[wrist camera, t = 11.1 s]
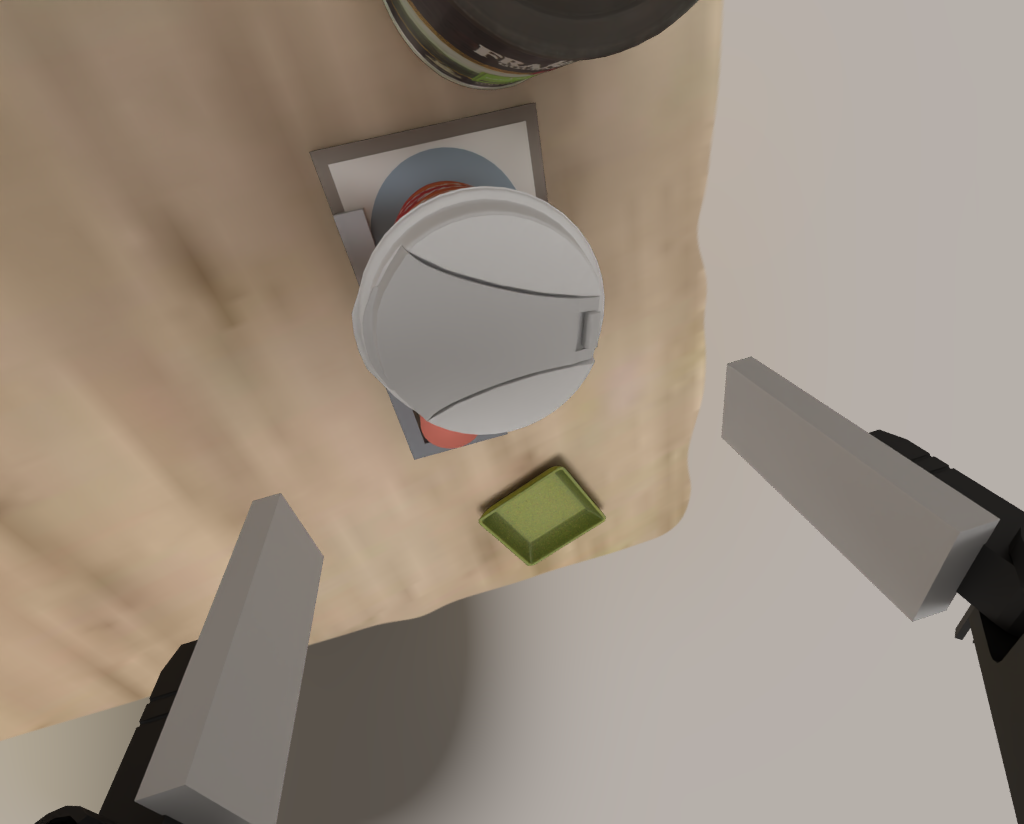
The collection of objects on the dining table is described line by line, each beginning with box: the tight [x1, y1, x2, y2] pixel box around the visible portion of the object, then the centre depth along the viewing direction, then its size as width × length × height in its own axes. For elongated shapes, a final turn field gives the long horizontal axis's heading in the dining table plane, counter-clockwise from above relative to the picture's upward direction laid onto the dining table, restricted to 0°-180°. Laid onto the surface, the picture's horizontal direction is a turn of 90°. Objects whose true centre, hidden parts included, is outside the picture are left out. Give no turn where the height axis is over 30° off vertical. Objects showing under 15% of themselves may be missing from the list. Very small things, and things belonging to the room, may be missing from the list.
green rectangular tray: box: [479, 466, 606, 566], centre depth 41 cm, size 9×9×2 cm
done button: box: [420, 415, 477, 448], centre depth 31 cm, size 4×4×3 cm
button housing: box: [386, 388, 507, 460], centre depth 32 cm, size 7×7×2 cm
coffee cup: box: [352, 181, 605, 435], centre depth 20 cm, size 8×8×15 cm
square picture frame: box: [309, 103, 548, 286], centre depth 27 cm, size 11×12×1 cm
